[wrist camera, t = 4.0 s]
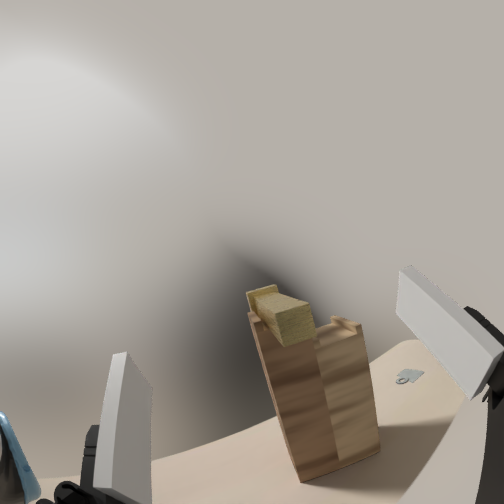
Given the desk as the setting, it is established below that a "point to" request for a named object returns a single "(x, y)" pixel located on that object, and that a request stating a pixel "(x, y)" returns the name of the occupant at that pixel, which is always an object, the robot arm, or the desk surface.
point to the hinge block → (321, 395)
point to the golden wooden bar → (282, 315)
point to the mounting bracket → (409, 375)
